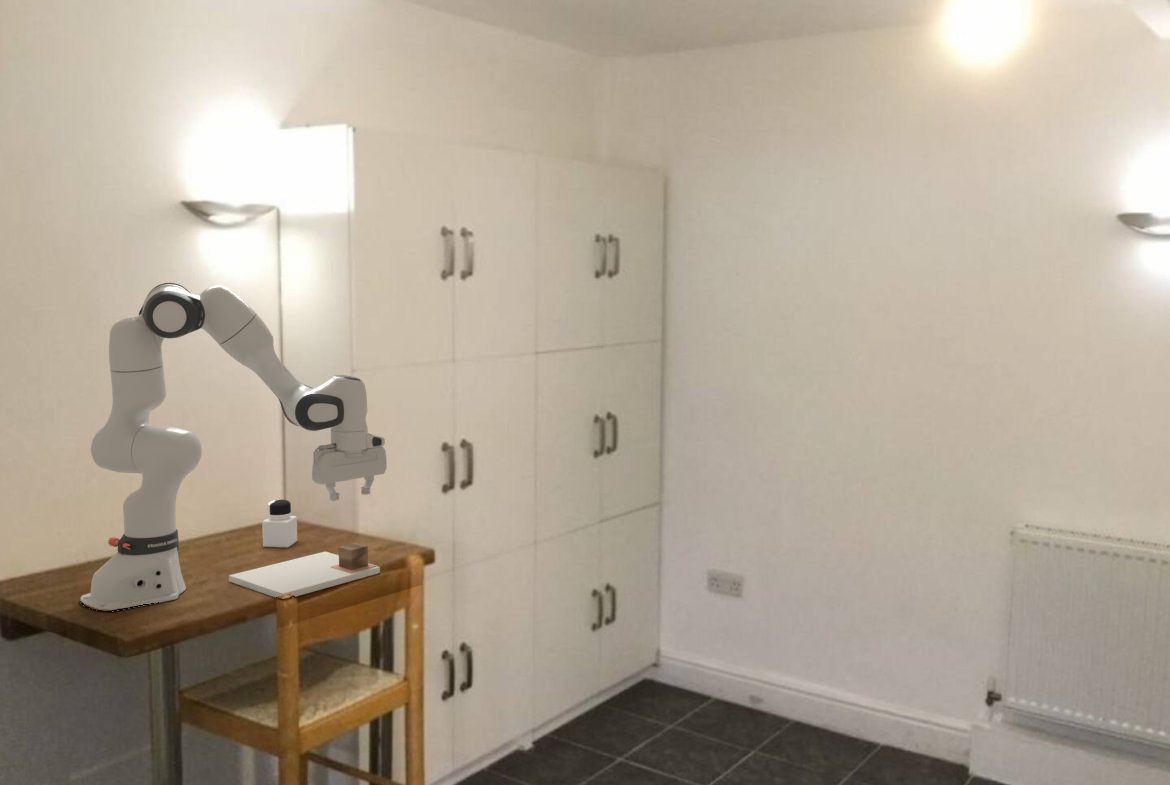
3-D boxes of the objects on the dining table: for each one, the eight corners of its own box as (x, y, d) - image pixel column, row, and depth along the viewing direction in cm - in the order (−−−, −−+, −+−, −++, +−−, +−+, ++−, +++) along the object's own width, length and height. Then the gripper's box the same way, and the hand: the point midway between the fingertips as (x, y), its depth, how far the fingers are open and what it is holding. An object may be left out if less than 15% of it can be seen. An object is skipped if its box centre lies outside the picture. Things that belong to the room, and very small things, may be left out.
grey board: (282, 600, 242) (282, 592, 242) (229, 581, 256) (228, 574, 256) (379, 572, 264) (379, 566, 264) (325, 557, 278) (325, 550, 278)
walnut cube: (351, 570, 260) (351, 550, 260) (339, 566, 263) (338, 546, 263) (368, 565, 264) (367, 546, 264) (355, 562, 267) (354, 542, 267)
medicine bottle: (297, 541, 294) (296, 498, 292) (288, 547, 287) (286, 504, 285) (272, 540, 294) (271, 497, 293) (262, 547, 287) (261, 503, 286)
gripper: (321, 447, 250) (323, 505, 252) (390, 438, 266) (390, 492, 267) (305, 445, 254) (307, 501, 256) (373, 435, 270) (374, 489, 271)
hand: (350, 497), depth 262 cm, fingers open, 8 cm apart
